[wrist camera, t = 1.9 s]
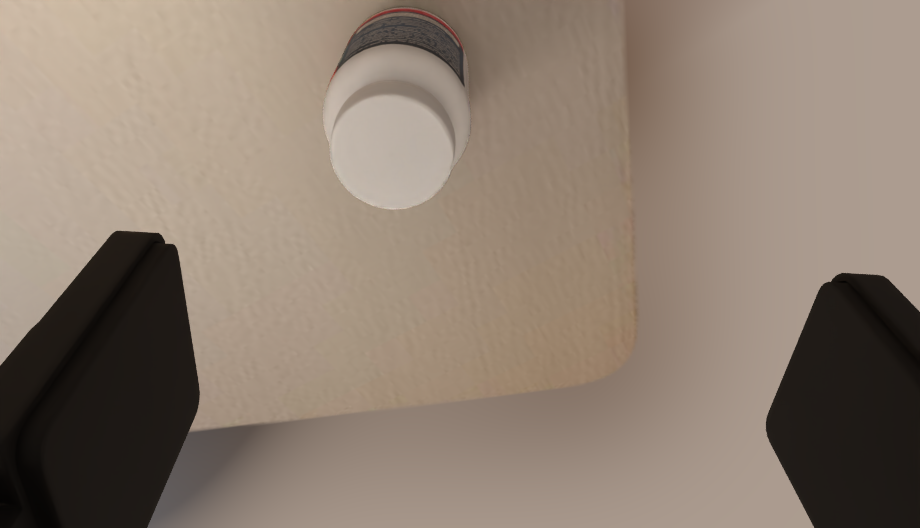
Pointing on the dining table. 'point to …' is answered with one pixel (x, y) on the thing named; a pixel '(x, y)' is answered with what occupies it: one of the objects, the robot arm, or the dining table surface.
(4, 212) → the dining table surface
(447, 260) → the dining table surface
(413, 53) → the pill bottle
